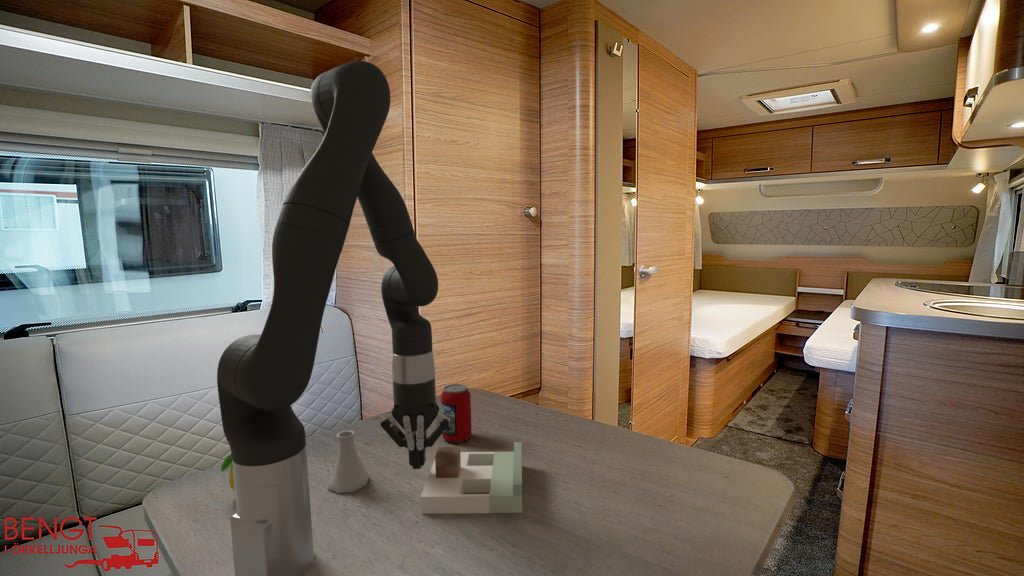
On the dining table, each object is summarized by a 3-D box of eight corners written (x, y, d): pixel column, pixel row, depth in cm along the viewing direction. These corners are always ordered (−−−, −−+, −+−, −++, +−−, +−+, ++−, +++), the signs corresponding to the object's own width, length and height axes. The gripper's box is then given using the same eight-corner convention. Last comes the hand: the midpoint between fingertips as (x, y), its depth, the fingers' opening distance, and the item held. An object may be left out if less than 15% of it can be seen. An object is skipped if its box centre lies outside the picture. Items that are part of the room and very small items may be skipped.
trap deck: (421, 513, 81) (419, 485, 81) (437, 466, 97) (436, 442, 97) (522, 512, 81) (521, 484, 80) (521, 465, 97) (521, 441, 97)
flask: (356, 496, 87) (353, 443, 86) (320, 492, 89) (316, 440, 87) (375, 476, 94) (372, 427, 93) (341, 473, 96) (338, 424, 94)
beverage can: (438, 435, 113) (436, 385, 111) (466, 430, 115) (464, 381, 114) (447, 447, 106) (445, 394, 105) (476, 440, 109) (474, 389, 108)
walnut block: (435, 478, 87) (435, 456, 86) (439, 467, 91) (438, 447, 90) (458, 477, 87) (457, 456, 86) (460, 467, 91) (460, 446, 90)
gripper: (371, 382, 83) (376, 477, 85) (447, 381, 83) (450, 476, 85) (383, 370, 91) (387, 458, 93) (453, 369, 91) (456, 457, 93)
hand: (418, 467), depth 89 cm, fingers closed
